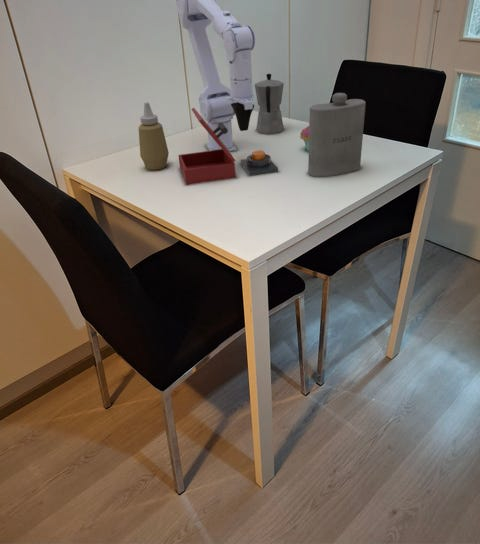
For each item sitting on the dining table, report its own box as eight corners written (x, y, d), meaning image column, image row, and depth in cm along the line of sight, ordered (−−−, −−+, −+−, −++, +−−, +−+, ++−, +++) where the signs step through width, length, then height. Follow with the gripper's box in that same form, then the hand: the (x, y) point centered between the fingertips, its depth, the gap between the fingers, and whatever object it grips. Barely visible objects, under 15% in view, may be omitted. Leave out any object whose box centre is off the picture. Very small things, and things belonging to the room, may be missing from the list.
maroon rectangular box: (186, 185, 128) (184, 170, 125) (180, 168, 138) (178, 154, 136) (235, 177, 130) (234, 163, 128) (225, 162, 140) (224, 148, 138)
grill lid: (199, 121, 120) (211, 110, 119) (191, 109, 130) (203, 98, 129) (233, 162, 127) (245, 152, 127) (223, 148, 138) (234, 138, 137)
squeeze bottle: (165, 172, 136) (155, 106, 126) (138, 171, 138) (126, 106, 128) (174, 161, 143) (165, 99, 133) (148, 161, 144) (138, 99, 135)
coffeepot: (257, 124, 170) (255, 70, 160) (284, 123, 168) (284, 68, 159) (254, 138, 157) (252, 80, 147) (283, 138, 156) (283, 79, 146)
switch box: (240, 163, 138) (240, 153, 137) (267, 159, 140) (267, 149, 138) (249, 176, 130) (249, 165, 129) (277, 172, 132) (277, 161, 130)
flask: (314, 179, 126) (317, 100, 115) (305, 172, 130) (306, 95, 120) (365, 169, 129) (372, 92, 119) (354, 162, 134) (360, 87, 123)
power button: (250, 157, 135) (250, 151, 134) (263, 155, 135) (262, 149, 134) (253, 161, 132) (253, 155, 131) (266, 160, 132) (266, 153, 132)
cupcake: (330, 153, 141) (332, 112, 135) (301, 155, 142) (301, 113, 135) (326, 144, 148) (328, 104, 142) (298, 145, 149) (299, 105, 142)
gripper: (220, 74, 132) (224, 124, 139) (232, 85, 120) (235, 139, 127) (245, 72, 133) (247, 121, 140) (259, 82, 121) (261, 136, 129)
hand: (243, 129), depth 134 cm, fingers closed
